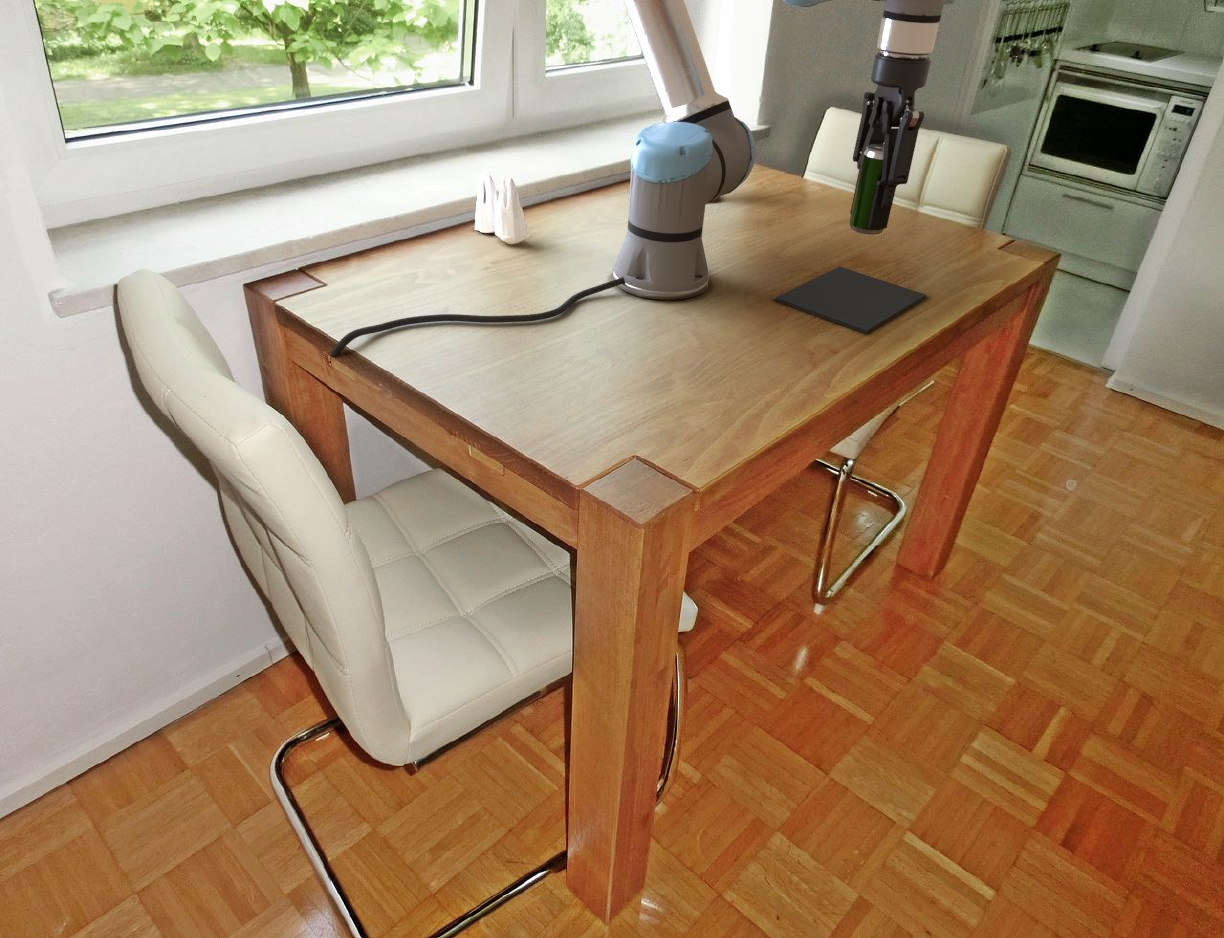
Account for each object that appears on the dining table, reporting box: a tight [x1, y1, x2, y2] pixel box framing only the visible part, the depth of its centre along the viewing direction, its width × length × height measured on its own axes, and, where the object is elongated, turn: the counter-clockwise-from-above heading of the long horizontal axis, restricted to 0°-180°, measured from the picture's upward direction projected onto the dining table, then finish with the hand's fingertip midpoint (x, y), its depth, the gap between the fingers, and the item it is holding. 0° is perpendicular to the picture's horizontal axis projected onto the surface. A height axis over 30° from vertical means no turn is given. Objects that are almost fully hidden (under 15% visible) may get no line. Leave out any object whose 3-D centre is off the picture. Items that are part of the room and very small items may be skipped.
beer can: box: [848, 144, 886, 236], centre depth 132 cm, size 5×5×12 cm
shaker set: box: [474, 173, 530, 245], centre depth 154 cm, size 12×4×11 cm, turn 40°
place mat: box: [774, 266, 927, 335], centre depth 142 cm, size 20×16×1 cm
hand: (868, 220), depth 135 cm, fingers closed on beer can, 5 cm apart
